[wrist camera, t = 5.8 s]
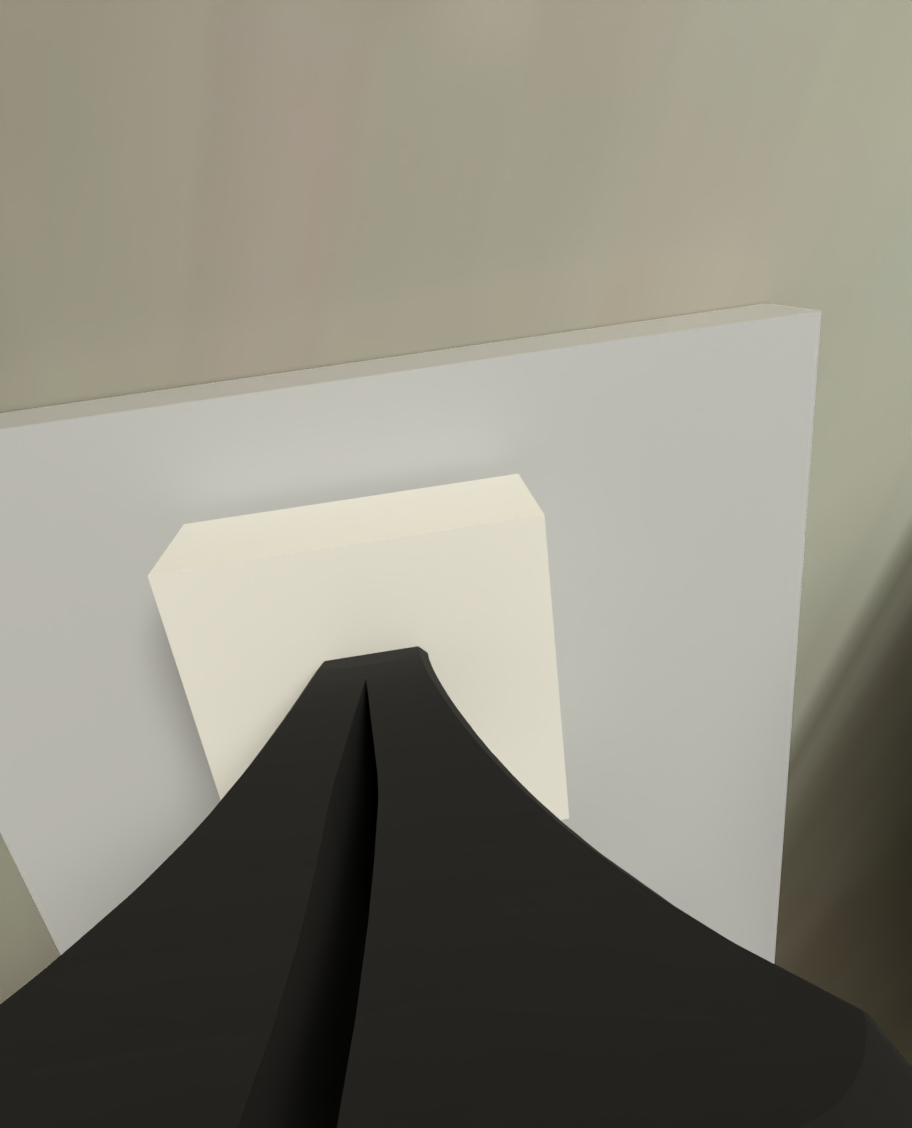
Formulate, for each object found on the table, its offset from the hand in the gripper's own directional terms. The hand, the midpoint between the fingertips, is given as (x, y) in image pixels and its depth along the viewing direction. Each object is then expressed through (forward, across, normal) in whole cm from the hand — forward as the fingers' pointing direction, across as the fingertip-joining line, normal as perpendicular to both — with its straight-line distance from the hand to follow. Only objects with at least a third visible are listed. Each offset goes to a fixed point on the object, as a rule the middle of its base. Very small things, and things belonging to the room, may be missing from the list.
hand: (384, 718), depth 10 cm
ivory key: (+4, 0, 0) cm, 4 cm away
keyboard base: (+4, 0, +7) cm, 8 cm away
